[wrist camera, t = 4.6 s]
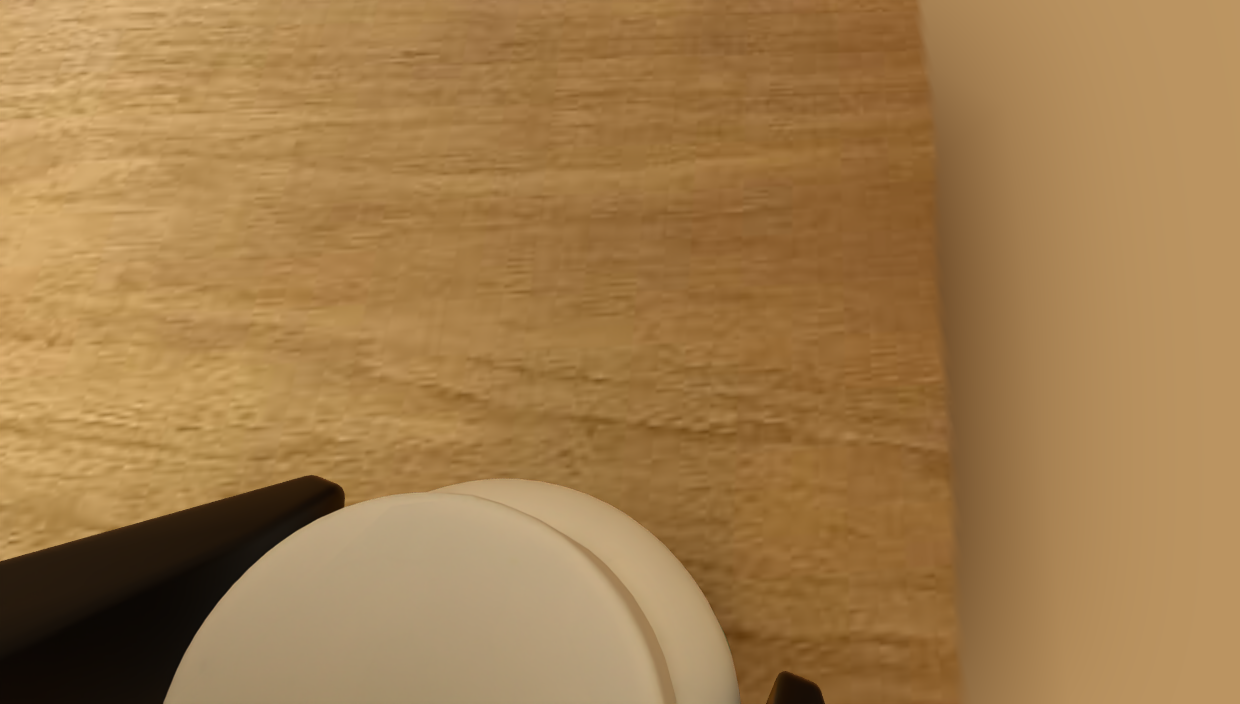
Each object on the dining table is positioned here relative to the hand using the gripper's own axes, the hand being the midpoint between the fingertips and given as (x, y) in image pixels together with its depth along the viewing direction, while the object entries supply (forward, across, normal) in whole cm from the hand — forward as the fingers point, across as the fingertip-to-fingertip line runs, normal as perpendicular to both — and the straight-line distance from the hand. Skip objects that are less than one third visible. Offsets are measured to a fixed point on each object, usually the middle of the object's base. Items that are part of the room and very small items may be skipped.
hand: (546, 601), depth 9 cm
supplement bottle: (+4, 0, +6) cm, 7 cm away
